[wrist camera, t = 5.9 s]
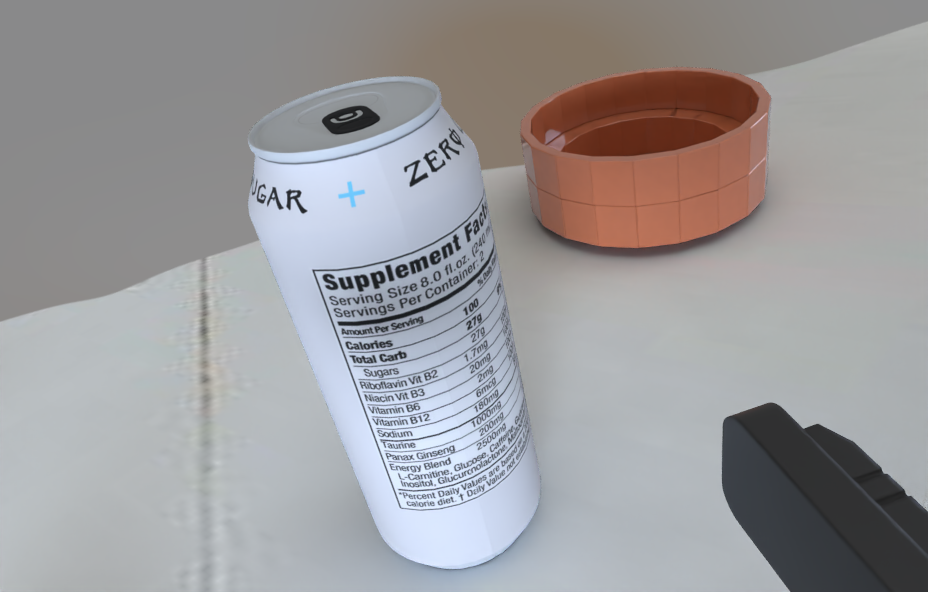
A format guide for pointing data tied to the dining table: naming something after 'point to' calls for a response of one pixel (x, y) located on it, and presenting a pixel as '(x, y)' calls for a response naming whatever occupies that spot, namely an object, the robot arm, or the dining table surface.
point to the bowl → (648, 156)
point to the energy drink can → (401, 311)
